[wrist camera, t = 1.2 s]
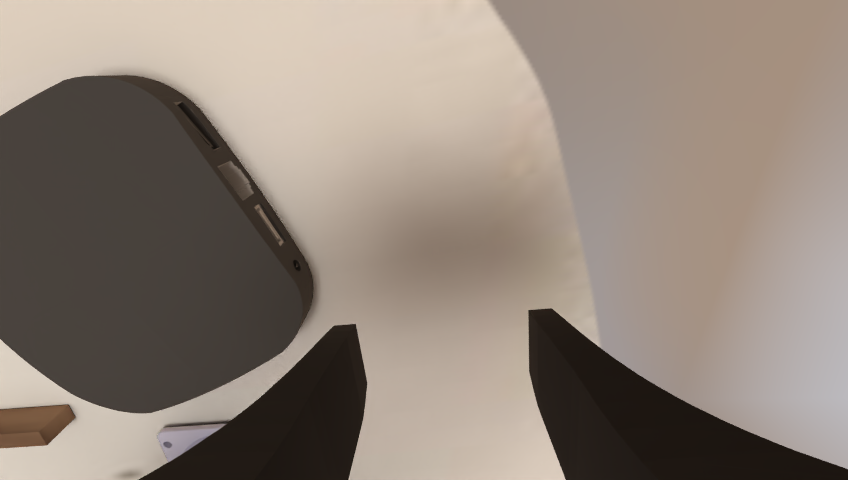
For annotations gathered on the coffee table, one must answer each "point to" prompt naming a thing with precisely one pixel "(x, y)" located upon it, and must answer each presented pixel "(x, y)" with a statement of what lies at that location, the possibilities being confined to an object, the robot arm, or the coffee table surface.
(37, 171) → the media streaming box
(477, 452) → the coffee table surface
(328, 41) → the coffee table surface
